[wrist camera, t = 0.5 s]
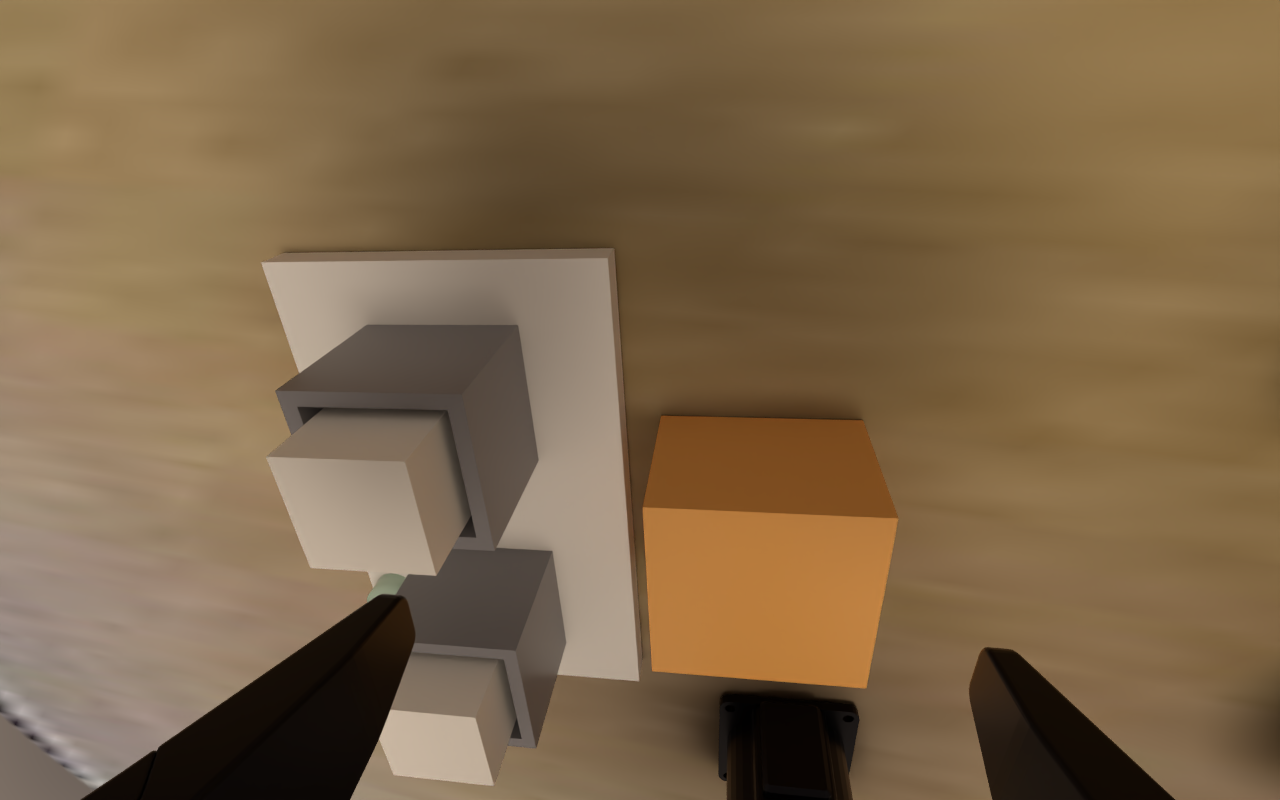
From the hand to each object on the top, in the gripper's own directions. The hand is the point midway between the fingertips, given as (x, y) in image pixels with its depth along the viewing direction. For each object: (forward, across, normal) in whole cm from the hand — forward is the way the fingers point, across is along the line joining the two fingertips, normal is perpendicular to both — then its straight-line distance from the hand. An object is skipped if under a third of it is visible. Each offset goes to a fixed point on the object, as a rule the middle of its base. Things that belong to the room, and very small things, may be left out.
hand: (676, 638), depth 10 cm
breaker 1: (+9, +9, +2) cm, 13 cm away
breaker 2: (+9, +9, +12) cm, 18 cm away
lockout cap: (+14, -2, +7) cm, 15 cm away
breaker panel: (+13, +9, +7) cm, 18 cm away
